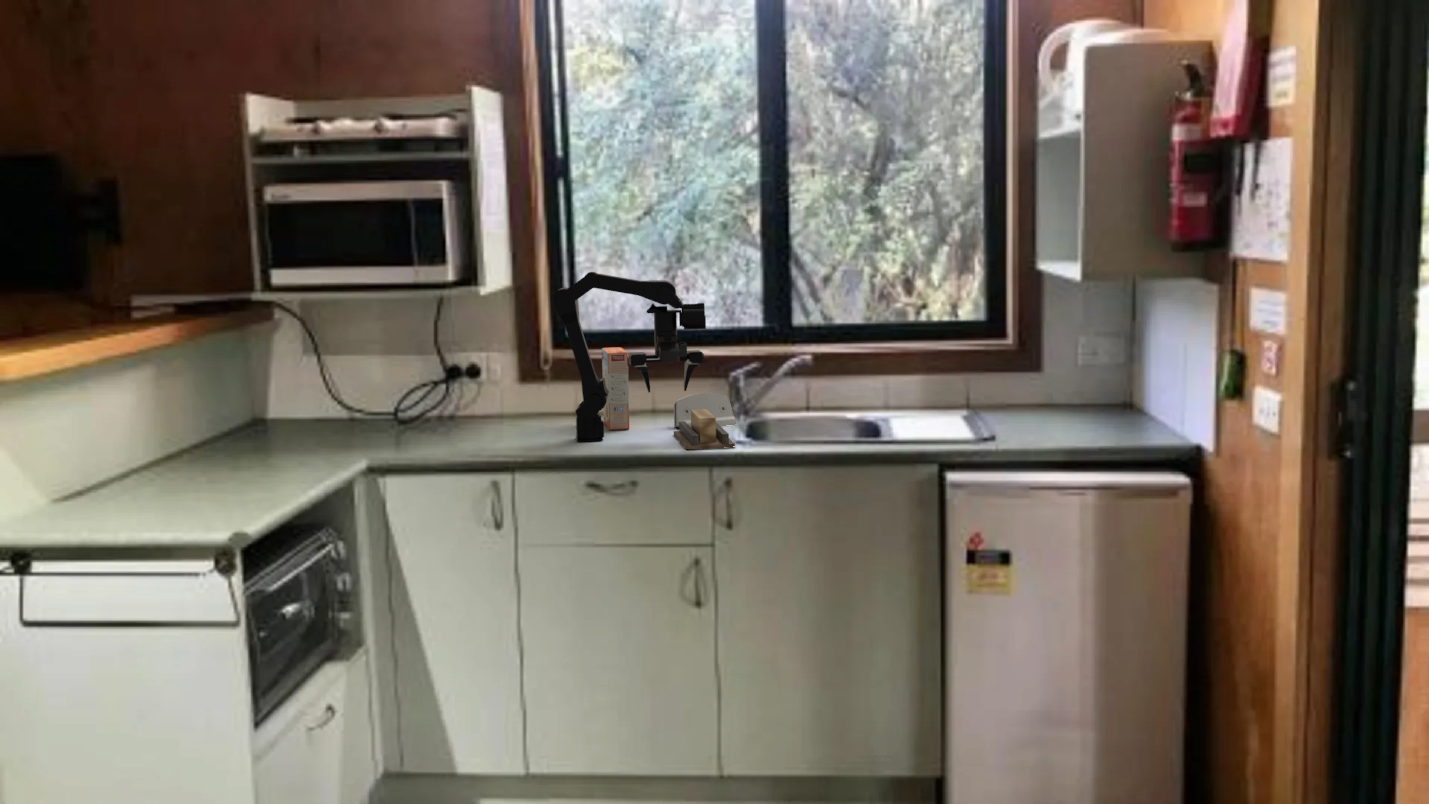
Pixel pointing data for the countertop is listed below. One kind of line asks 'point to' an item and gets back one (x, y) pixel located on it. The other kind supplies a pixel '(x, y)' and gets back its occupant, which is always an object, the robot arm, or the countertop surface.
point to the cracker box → (616, 388)
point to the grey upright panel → (708, 401)
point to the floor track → (692, 442)
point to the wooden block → (704, 425)
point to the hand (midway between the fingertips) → (667, 391)
